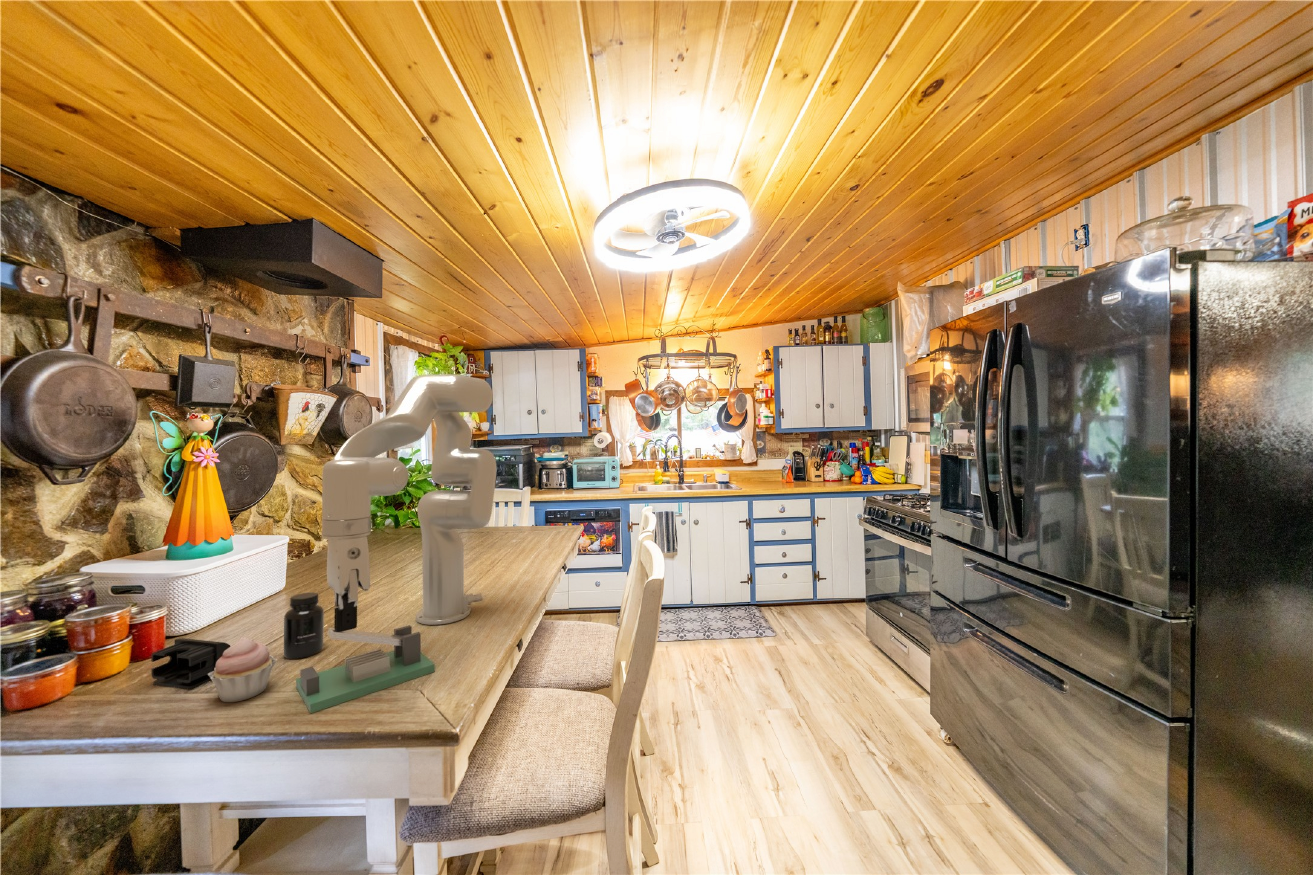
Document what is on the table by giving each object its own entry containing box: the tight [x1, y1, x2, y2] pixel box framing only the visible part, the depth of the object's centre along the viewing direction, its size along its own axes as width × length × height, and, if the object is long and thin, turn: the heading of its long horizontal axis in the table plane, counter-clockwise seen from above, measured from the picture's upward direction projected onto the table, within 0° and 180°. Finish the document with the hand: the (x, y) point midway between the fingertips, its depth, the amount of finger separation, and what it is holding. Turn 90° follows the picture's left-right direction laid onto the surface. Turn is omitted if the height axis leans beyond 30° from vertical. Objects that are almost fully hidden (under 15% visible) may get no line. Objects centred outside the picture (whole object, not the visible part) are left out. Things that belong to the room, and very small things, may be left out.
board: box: [295, 625, 436, 714], centre depth 93 cm, size 20×12×7 cm, turn 135°
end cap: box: [150, 637, 232, 691], centre depth 93 cm, size 10×7×7 cm
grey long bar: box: [326, 627, 405, 646], centre depth 93 cm, size 15×3×2 cm, turn 136°
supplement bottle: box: [283, 591, 325, 660], centre depth 104 cm, size 7×7×12 cm
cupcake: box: [208, 636, 278, 703], centre depth 88 cm, size 9×9×10 cm
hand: (345, 628), depth 90 cm, fingers closed
